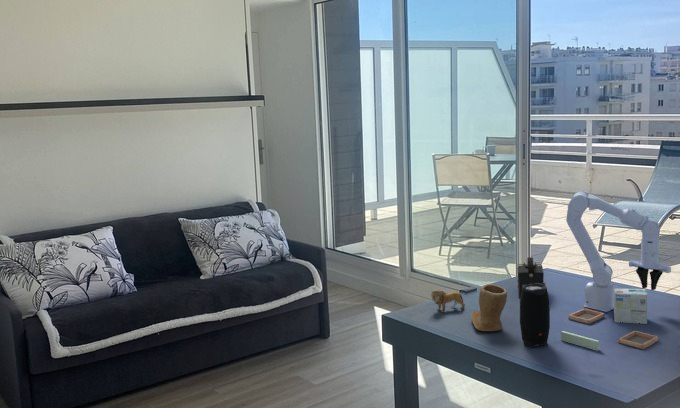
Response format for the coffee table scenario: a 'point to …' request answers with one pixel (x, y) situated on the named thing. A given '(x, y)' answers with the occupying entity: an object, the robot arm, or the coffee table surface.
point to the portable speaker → (534, 314)
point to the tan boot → (490, 308)
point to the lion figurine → (446, 299)
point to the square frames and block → (589, 317)
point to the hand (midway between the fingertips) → (649, 288)
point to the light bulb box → (630, 305)
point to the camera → (529, 274)
